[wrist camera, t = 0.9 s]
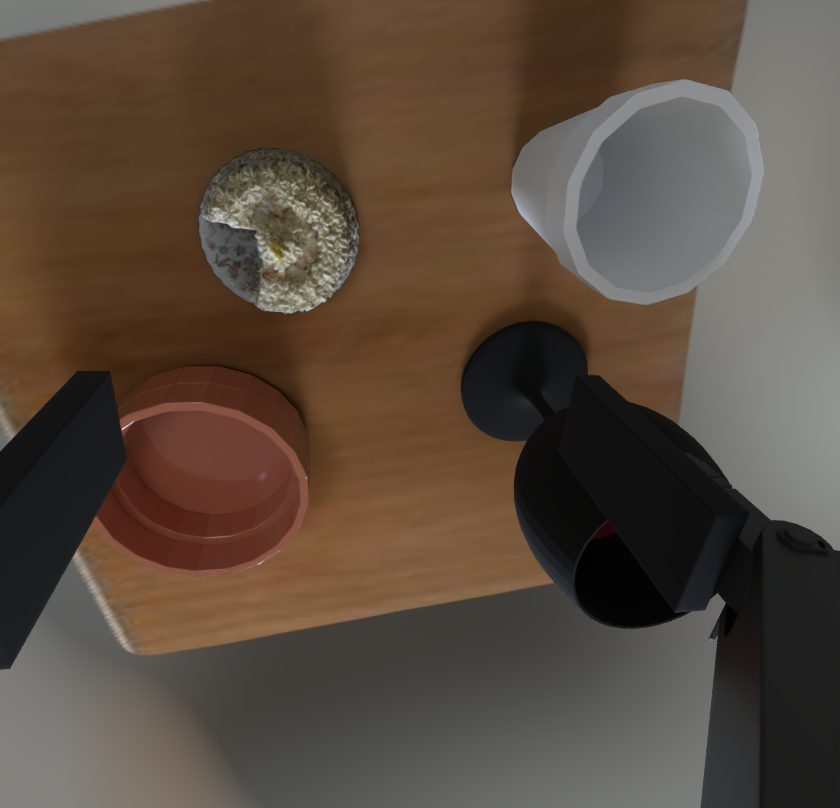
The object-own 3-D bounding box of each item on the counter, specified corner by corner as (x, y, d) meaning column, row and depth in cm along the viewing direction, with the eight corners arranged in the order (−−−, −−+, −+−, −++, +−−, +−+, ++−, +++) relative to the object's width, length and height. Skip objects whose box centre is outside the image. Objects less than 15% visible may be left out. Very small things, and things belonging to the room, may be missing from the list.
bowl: (91, 364, 36) (53, 406, 31) (305, 361, 39) (303, 399, 33) (132, 527, 43) (106, 584, 37) (313, 516, 45) (312, 568, 40)
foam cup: (491, 98, 33) (576, 81, 21) (633, 94, 34) (787, 76, 22) (487, 256, 37) (556, 312, 26) (613, 247, 38) (733, 298, 27)
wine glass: (579, 433, 45) (737, 625, 28) (459, 446, 44) (545, 655, 26) (594, 315, 40) (796, 456, 23) (460, 326, 39) (564, 484, 22)
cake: (302, 114, 32) (306, 109, 27) (385, 260, 37) (401, 277, 32) (162, 202, 32) (141, 211, 27) (263, 336, 37) (260, 364, 32)
